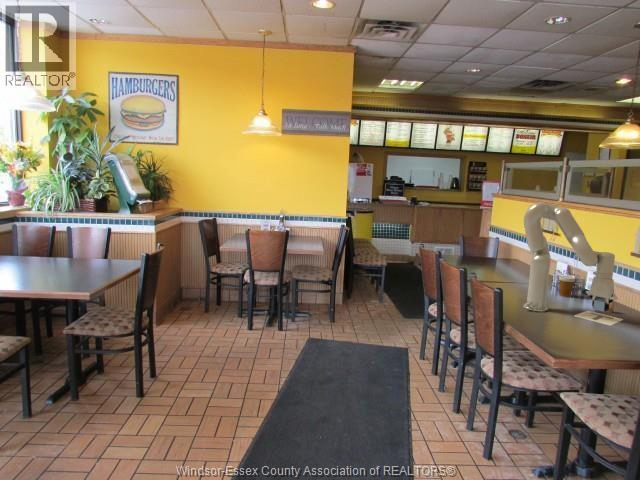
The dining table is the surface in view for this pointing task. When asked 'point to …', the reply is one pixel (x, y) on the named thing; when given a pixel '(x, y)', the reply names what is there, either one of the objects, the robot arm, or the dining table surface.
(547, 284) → the robot arm
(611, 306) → the wood cylinder
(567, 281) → the disposable coffee cup
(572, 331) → the dining table surface
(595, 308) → the slate cube
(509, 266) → the dining table surface
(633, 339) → the dining table surface
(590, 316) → the letter mat
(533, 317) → the dining table surface
